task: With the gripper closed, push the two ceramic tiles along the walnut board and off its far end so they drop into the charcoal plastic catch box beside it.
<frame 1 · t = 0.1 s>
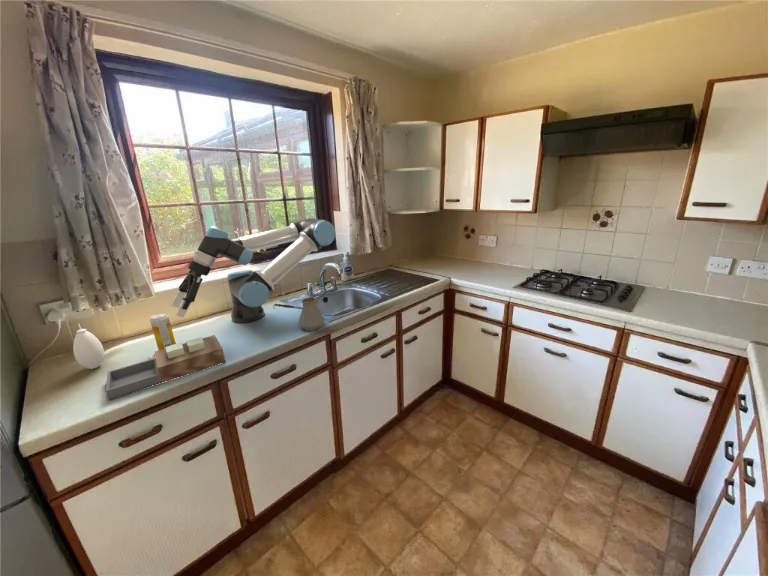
hand: (176, 311, 130), 15 cm above the table, tool tilted 35°, fingers open, 13 cm apart
beer can: (168, 350, 132), on the table
air blower bulb: (95, 367, 122), on the table
catch box: (136, 381, 111), on the table
front tile: (175, 353, 117), point 6 cm above the table, touching walnut board
rear tile: (196, 347, 120), point 6 cm above the table, touching walnut board
walnut board: (192, 364, 121), on the table
coffee pot: (301, 330, 145), on the table
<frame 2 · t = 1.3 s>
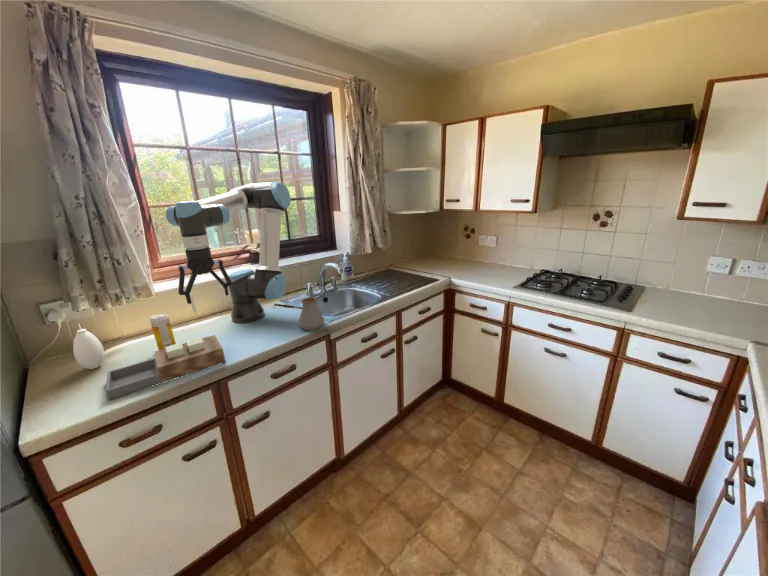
hand: (210, 307, 120), 20 cm above the table, tool pointing down, fingers open, 10 cm apart
nothing on the table moved.
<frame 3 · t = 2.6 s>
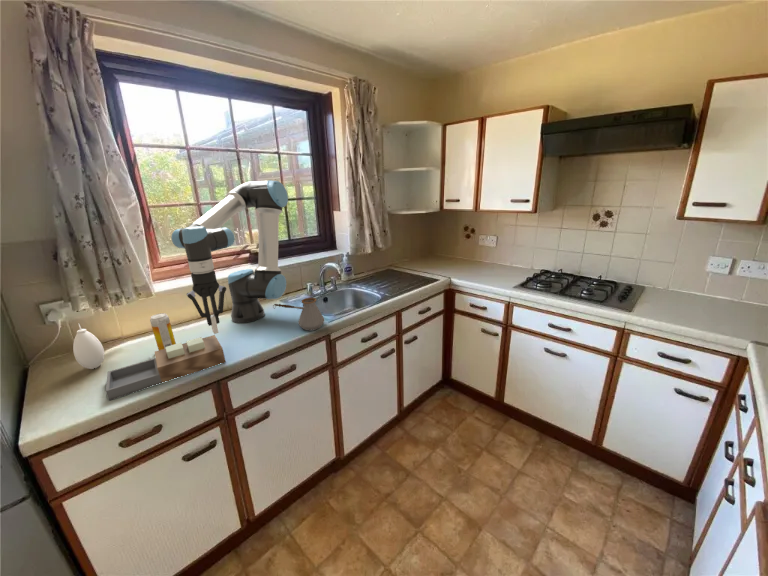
hand: (215, 332, 123), 10 cm above the table, tool pointing down, fingers closed
nothing on the table moved.
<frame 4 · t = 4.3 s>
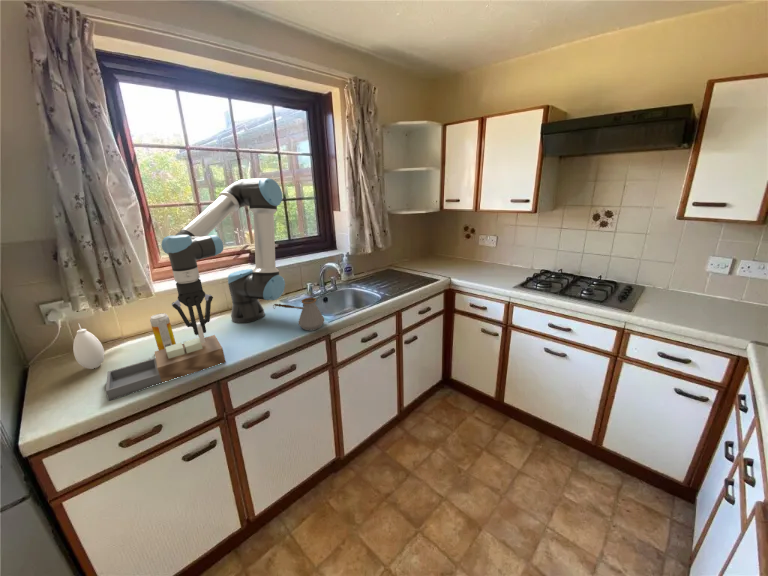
hand: (202, 341, 121), 8 cm above the table, tool pointing down, fingers closed
nothing on the table moved.
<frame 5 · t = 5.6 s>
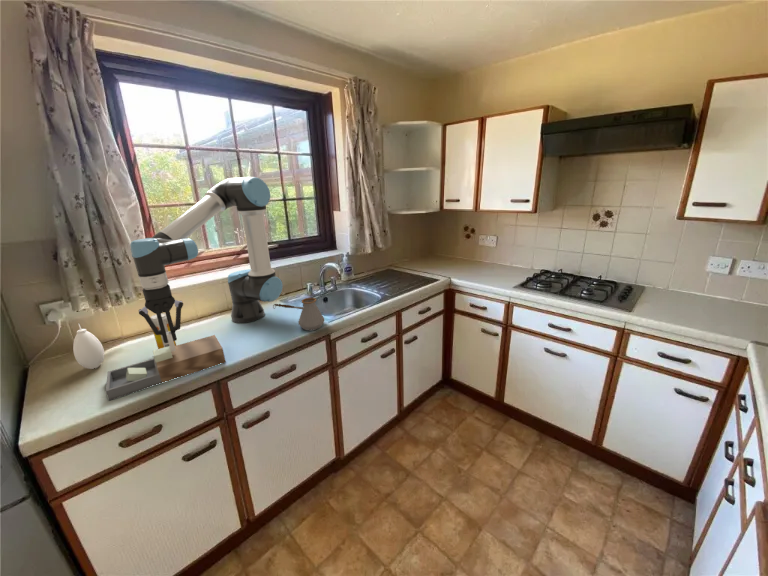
hand: (173, 349, 116), 8 cm above the table, tool pointing down, fingers closed
front tile: (137, 370, 111), point 4 cm above the table, tilted 156°
rear tile: (163, 357, 115), point 6 cm above the table, touching gripper, walnut board
everything else where it was.
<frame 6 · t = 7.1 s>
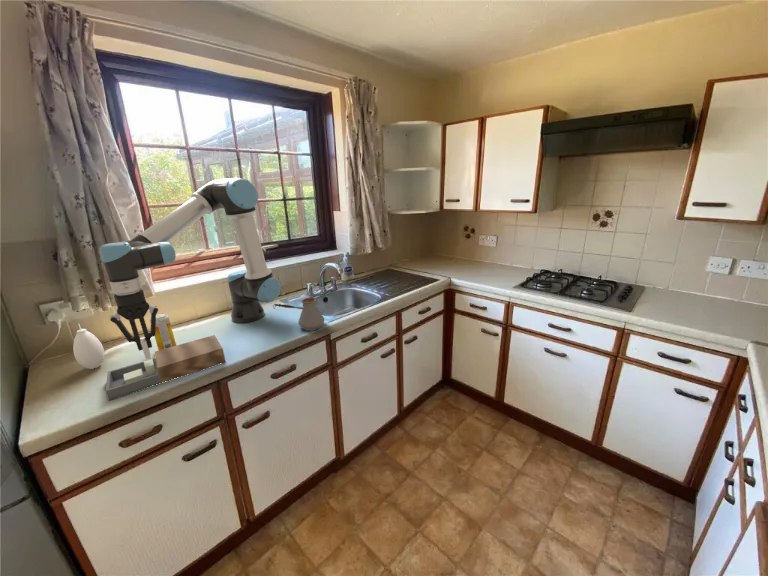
hand: (148, 356, 112), 8 cm above the table, tool pointing down, fingers closed
front tile: (133, 374, 110), point 3 cm above the table, tilted 180°, touching catch box
rear tile: (154, 367, 114), point 3 cm above the table, tilted 90°, touching catch box
everything else where it was.
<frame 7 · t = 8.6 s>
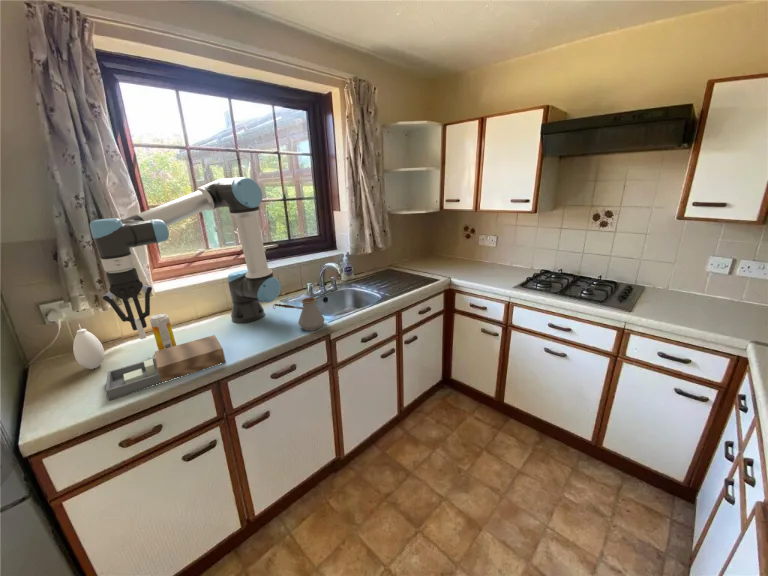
hand: (143, 337, 110), 15 cm above the table, tool pointing down, fingers closed
nothing on the table moved.
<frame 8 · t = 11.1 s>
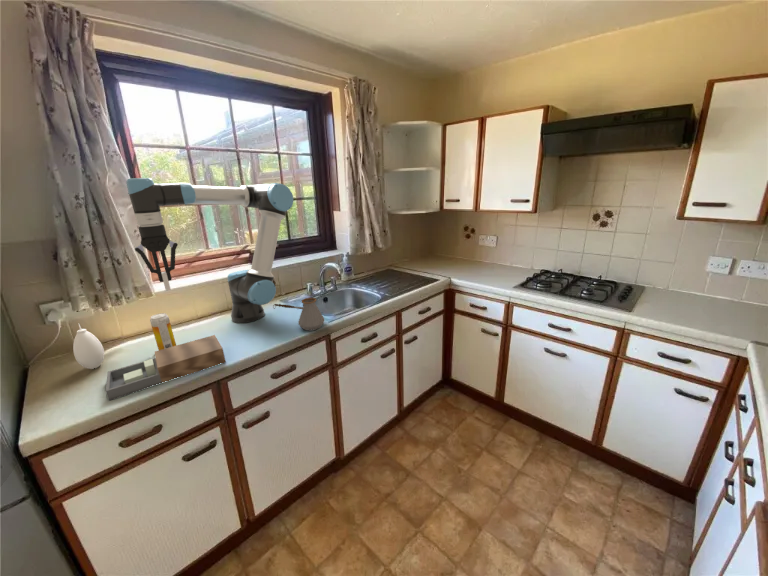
hand: (168, 289, 121), 26 cm above the table, tool pointing down, fingers closed
nothing on the table moved.
at the end: front tile inside the target area on the catch box (0.1 cm from its centre), point 3.1 cm above the catch box's base; rear tile inside the target area on the catch box (6.1 cm from its centre), point 3.1 cm above the catch box's base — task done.
